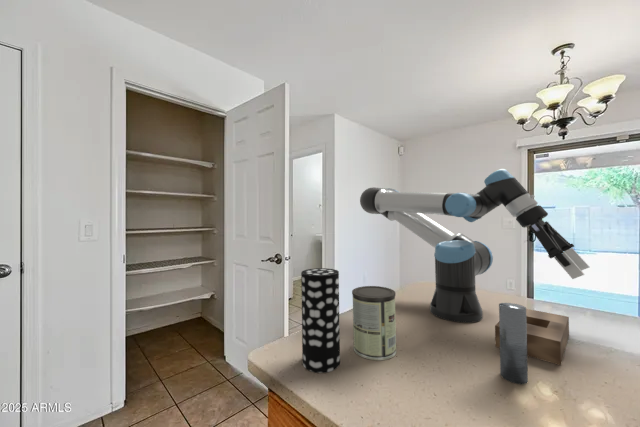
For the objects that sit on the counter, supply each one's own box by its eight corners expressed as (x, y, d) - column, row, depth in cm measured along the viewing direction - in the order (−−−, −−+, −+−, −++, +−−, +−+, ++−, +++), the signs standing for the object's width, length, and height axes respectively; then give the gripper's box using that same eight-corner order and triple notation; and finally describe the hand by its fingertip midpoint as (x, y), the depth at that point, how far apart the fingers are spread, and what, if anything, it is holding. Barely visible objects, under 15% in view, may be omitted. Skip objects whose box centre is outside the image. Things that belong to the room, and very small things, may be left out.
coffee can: (357, 337, 72) (356, 284, 72) (397, 343, 68) (396, 287, 69) (348, 356, 62) (347, 295, 62) (395, 364, 59) (394, 299, 59)
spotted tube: (312, 377, 54) (311, 277, 55) (296, 358, 62) (295, 270, 62) (347, 366, 58) (345, 273, 58) (328, 349, 66) (327, 267, 66)
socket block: (495, 346, 66) (494, 325, 66) (514, 323, 80) (513, 306, 80) (560, 365, 57) (560, 341, 57) (569, 335, 71) (568, 316, 71)
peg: (497, 377, 53) (496, 306, 54) (503, 368, 57) (502, 301, 57) (525, 387, 50) (523, 311, 50) (529, 377, 53) (528, 306, 53)
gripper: (528, 203, 74) (593, 273, 65) (547, 204, 90) (600, 260, 81) (502, 219, 79) (559, 286, 69) (525, 217, 95) (573, 272, 86)
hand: (581, 272), depth 75 cm, fingers open, 13 cm apart
